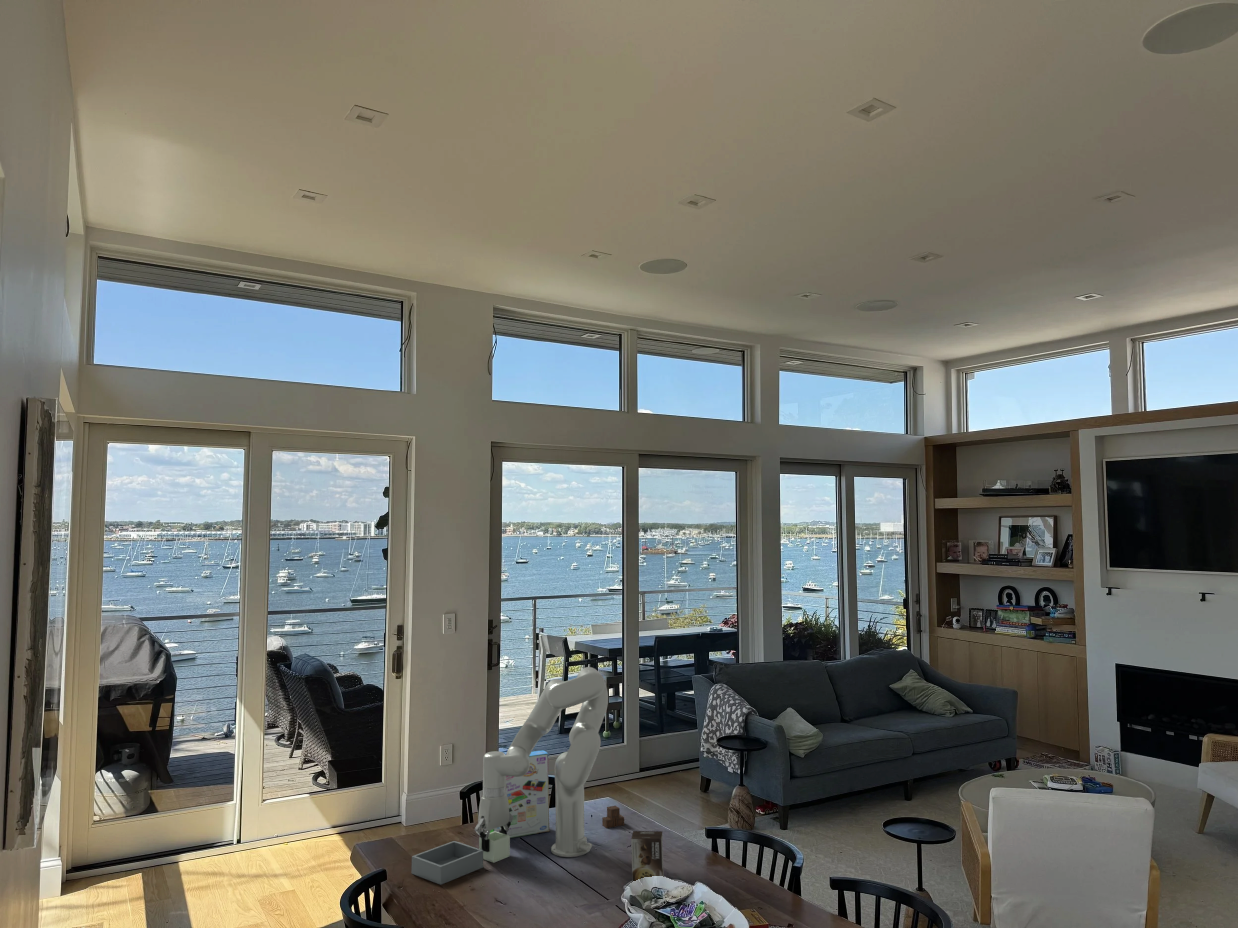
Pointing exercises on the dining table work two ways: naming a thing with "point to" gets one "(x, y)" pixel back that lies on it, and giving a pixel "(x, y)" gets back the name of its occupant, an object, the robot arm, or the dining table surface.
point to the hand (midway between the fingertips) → (494, 846)
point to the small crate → (496, 847)
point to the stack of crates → (613, 817)
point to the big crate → (447, 862)
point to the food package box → (647, 854)
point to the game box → (529, 798)
